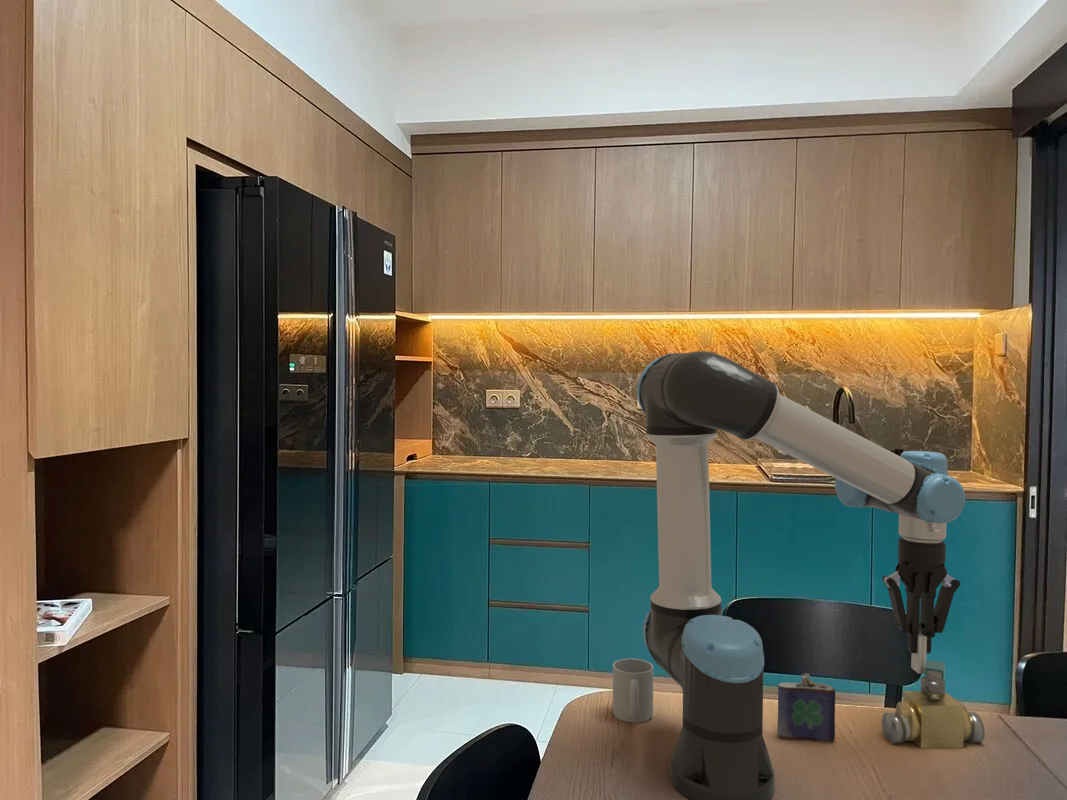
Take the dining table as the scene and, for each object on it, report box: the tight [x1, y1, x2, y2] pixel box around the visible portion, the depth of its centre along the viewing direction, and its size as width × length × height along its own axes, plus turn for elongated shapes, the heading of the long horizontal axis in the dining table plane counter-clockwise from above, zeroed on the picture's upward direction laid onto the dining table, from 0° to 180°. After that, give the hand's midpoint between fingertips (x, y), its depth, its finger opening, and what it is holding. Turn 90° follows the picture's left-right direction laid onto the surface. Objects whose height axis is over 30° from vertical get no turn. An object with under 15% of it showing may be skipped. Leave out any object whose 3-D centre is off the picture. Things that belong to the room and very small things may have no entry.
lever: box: [920, 659, 946, 698], centre depth 131 cm, size 12×4×2 cm, turn 150°
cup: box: [612, 658, 654, 724], centre depth 136 cm, size 7×10×9 cm
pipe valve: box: [881, 690, 986, 749], centre depth 127 cm, size 15×6×8 cm, turn 91°
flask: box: [777, 672, 836, 744], centre depth 128 cm, size 9×3×11 cm, turn 79°
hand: (918, 670), depth 135 cm, fingers closed
